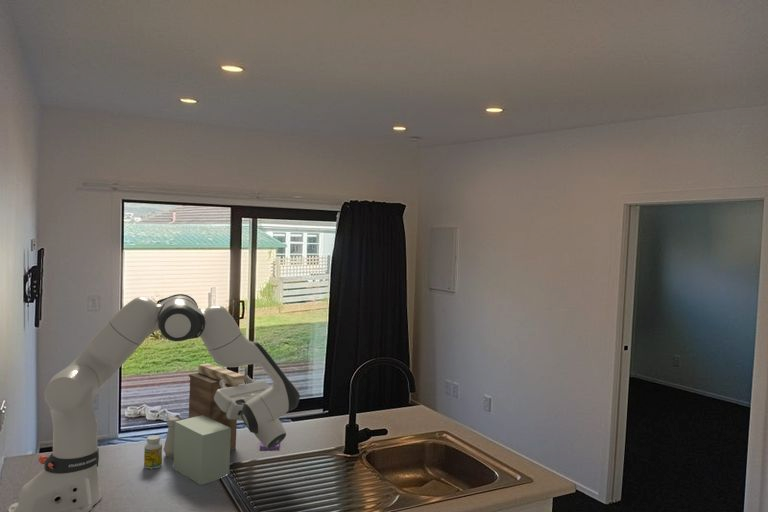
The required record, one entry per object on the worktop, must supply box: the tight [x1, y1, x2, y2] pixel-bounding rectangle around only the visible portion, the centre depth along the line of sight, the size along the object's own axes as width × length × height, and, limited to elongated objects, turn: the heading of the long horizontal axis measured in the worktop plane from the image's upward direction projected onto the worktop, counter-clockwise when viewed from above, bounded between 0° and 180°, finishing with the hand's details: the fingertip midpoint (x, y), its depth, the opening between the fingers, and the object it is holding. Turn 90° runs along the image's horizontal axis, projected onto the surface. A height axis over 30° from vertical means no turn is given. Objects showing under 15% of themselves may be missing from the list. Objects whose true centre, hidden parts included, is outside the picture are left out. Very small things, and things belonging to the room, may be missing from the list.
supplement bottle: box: [143, 434, 163, 469], centre depth 183 cm, size 5×5×10 cm
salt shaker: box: [163, 416, 181, 459], centre depth 192 cm, size 6×6×13 cm
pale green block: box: [172, 415, 231, 486], centre depth 180 cm, size 10×17×16 cm, turn 49°
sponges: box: [259, 442, 280, 451], centre depth 208 cm, size 7×13×2 cm, turn 10°
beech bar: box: [197, 363, 245, 386], centre depth 198 cm, size 23×4×3 cm, turn 49°
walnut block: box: [188, 372, 239, 451], centre depth 201 cm, size 12×15×26 cm
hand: (233, 379), depth 193 cm, fingers open, 8 cm apart
